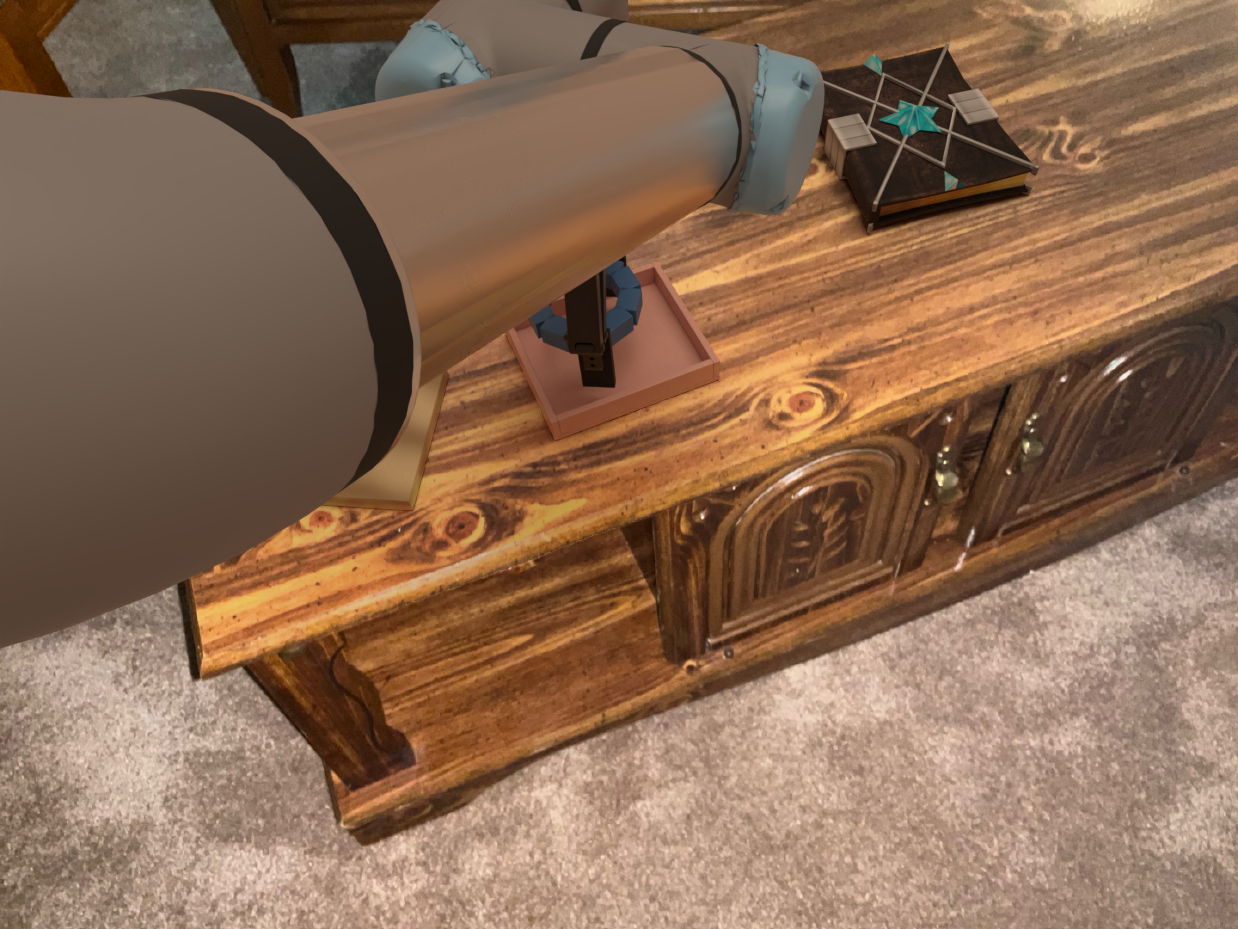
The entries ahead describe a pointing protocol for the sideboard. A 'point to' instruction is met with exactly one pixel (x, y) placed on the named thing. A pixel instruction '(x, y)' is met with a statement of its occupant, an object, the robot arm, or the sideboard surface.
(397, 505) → the tan post with base
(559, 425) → the tray
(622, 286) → the ring
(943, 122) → the book
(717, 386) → the sideboard surface
